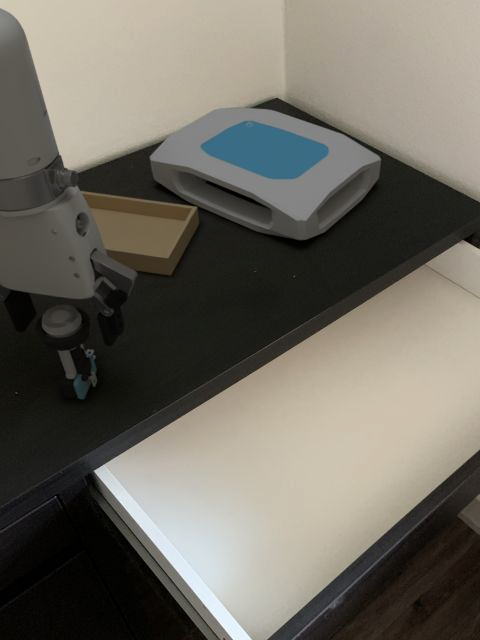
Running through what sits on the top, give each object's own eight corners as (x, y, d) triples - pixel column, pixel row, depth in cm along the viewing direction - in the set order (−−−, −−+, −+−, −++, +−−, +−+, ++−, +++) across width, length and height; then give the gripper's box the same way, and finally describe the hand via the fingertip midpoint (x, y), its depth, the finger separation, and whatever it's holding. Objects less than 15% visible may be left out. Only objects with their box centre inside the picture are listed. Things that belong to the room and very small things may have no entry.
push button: (72, 356, 76) (49, 288, 69) (117, 361, 76) (98, 293, 69) (51, 399, 72) (24, 331, 65) (98, 404, 72) (77, 337, 64)
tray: (41, 256, 89) (35, 238, 87) (80, 207, 97) (75, 190, 95) (170, 275, 87) (168, 258, 85) (199, 223, 95) (197, 206, 92)
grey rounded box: (302, 252, 90) (303, 212, 86) (151, 187, 101) (144, 148, 96) (380, 185, 102) (384, 147, 97) (237, 133, 112) (235, 96, 108)
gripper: (132, 166, 57) (162, 318, 69) (-51, 145, 59) (11, 296, 72) (96, 214, 52) (136, 368, 64) (-102, 189, 54) (-26, 342, 67)
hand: (70, 330), depth 68 cm, fingers open, 9 cm apart
